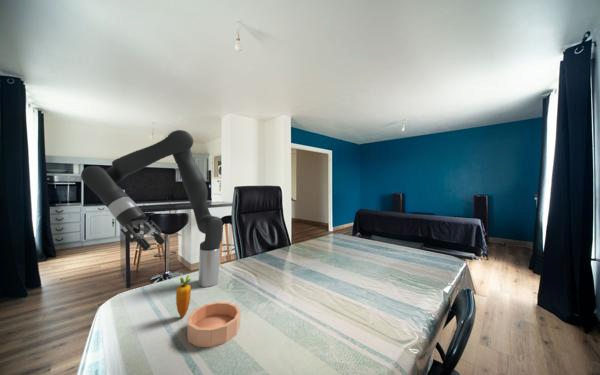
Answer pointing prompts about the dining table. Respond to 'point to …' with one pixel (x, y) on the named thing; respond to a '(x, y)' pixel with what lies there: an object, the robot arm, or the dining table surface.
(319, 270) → the dining table surface
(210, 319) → the terracotta bowl
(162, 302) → the dining table surface
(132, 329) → the dining table surface
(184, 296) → the carrot
